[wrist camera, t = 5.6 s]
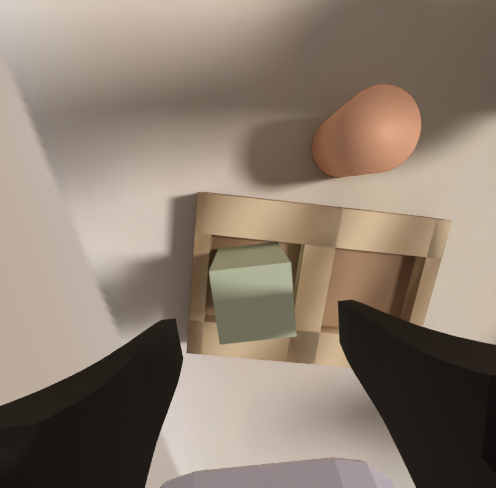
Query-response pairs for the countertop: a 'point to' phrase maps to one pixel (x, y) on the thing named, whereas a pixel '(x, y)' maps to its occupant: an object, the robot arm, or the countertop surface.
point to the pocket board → (316, 269)
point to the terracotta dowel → (368, 133)
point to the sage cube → (252, 293)
